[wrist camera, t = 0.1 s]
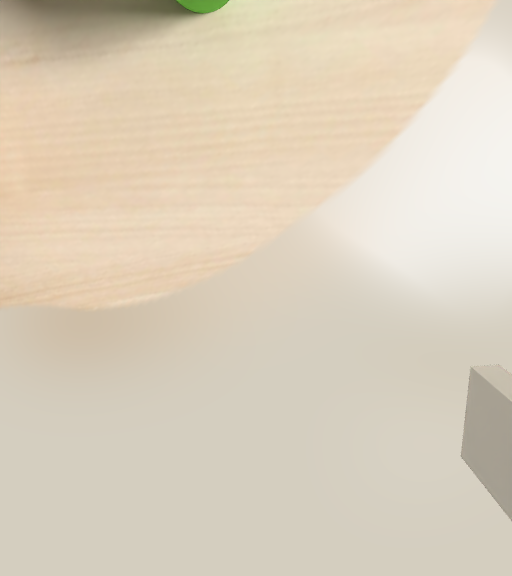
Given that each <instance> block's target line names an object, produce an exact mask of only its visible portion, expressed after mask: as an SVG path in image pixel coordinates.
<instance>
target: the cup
mask: <svg viewBox="0 0 512 576" xmlns="http://www.w3.org/2000/svg"><path fill="white" fill-rule="evenodd" d="M176 1H177V2H178V3H179V4H181V5H182V6H183V7H185V8H186V9H188V10H191V11H193V12H198V13H209V12H213V11H215V10H218V9H220V8H221V7H223V6H224V5H225V4H226V3H227V2H228V1H229V0H176Z"/></svg>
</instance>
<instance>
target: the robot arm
mask: <svg viewBox="0 0 512 576" xmlns="http://www.w3.org/2000/svg"><path fill="white" fill-rule="evenodd" d="M461 457H462V459H463V460H464V461H465V462H466V464H467V465H468V466H469V467H470V469H471V470H472V471H473V472H474V474H475V475H476V476H477V478H478V479H479V480H480V481H481V483H482V484H483V485H484V486H485V488H486V489H487V490H488V492H489V493H490V494H491V495H492V497H493V498H494V499H495V500H496V502H497V503H498V504H499V505H500V507H501V508H502V509H503V511H504V512H505V513H506V514H507V515H508V517H509V518H510V519H511V521H512V374H511V373H509V372H508V371H507V370H505V369H504V368H503V367H501V366H500V365H486V366H471V369H470V377H469V386H468V396H467V405H466V415H465V423H464V433H463V442H462V451H461Z"/></svg>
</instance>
